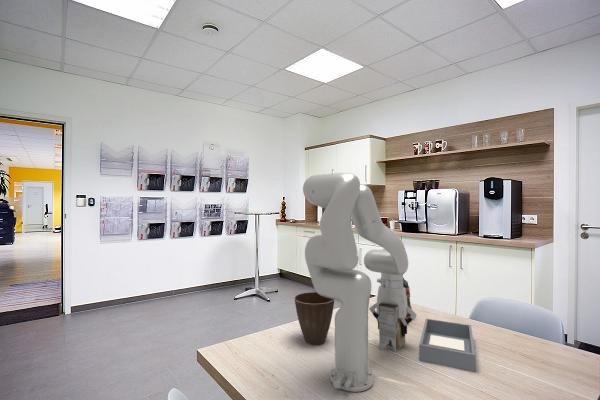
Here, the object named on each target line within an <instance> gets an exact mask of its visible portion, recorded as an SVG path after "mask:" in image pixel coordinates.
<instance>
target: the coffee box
mask: <svg viewBox="0 0 600 400" xmlns="http://www.w3.org/2000/svg"><path fill="white" fill-rule="evenodd" d="M402 324H403V322H402V320H401V319H399V306H397V305H391V304H383V303H380V304H379V329H378V334H379V335H378V336H379V337H378V339H379V340H378V341H379V342H378V344H379V345H378V347H379V348H378V349H379V350H380V351H382V350H383V349H385V350H388V351H391V352H398V351H399V350H400V349H401V348H402V347H403V346H404V345H405V344H406V335H405V336H404V337H402Z"/></svg>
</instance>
